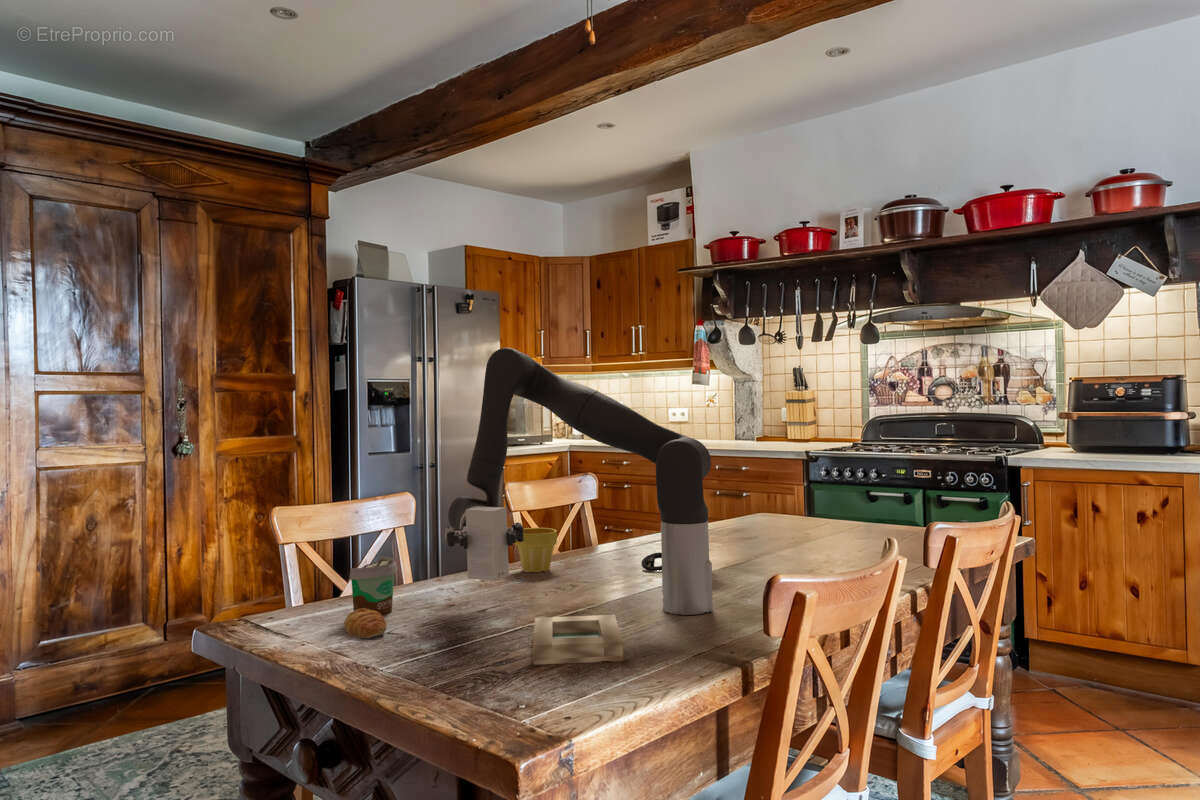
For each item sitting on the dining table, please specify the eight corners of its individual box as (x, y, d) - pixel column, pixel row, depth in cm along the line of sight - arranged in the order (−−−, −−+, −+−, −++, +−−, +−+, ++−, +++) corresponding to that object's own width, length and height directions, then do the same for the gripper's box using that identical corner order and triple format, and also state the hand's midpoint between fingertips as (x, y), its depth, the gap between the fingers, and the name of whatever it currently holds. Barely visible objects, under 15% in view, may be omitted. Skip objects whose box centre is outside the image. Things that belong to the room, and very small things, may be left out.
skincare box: (509, 576, 135) (507, 507, 135) (496, 581, 131) (494, 510, 131) (480, 573, 138) (478, 506, 138) (466, 579, 134) (464, 509, 134)
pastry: (395, 635, 139) (395, 614, 139) (358, 643, 135) (358, 621, 135) (375, 624, 147) (375, 604, 147) (340, 631, 143) (339, 611, 143)
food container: (380, 622, 147) (379, 569, 148) (350, 621, 149) (349, 568, 149) (408, 605, 160) (407, 556, 160) (381, 604, 161) (380, 556, 161)
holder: (615, 631, 138) (614, 614, 138) (623, 661, 122) (622, 641, 122) (535, 634, 137) (535, 617, 137) (533, 664, 121) (532, 645, 121)
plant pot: (561, 566, 196) (560, 527, 196) (552, 575, 186) (551, 534, 186) (521, 565, 198) (521, 527, 198) (510, 574, 188) (509, 533, 188)
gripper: (441, 509, 147) (444, 521, 131) (517, 504, 150) (529, 516, 134) (442, 549, 147) (446, 566, 131) (518, 543, 150) (531, 560, 134)
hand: (488, 541), depth 133 cm, fingers closed on skincare box, 7 cm apart
